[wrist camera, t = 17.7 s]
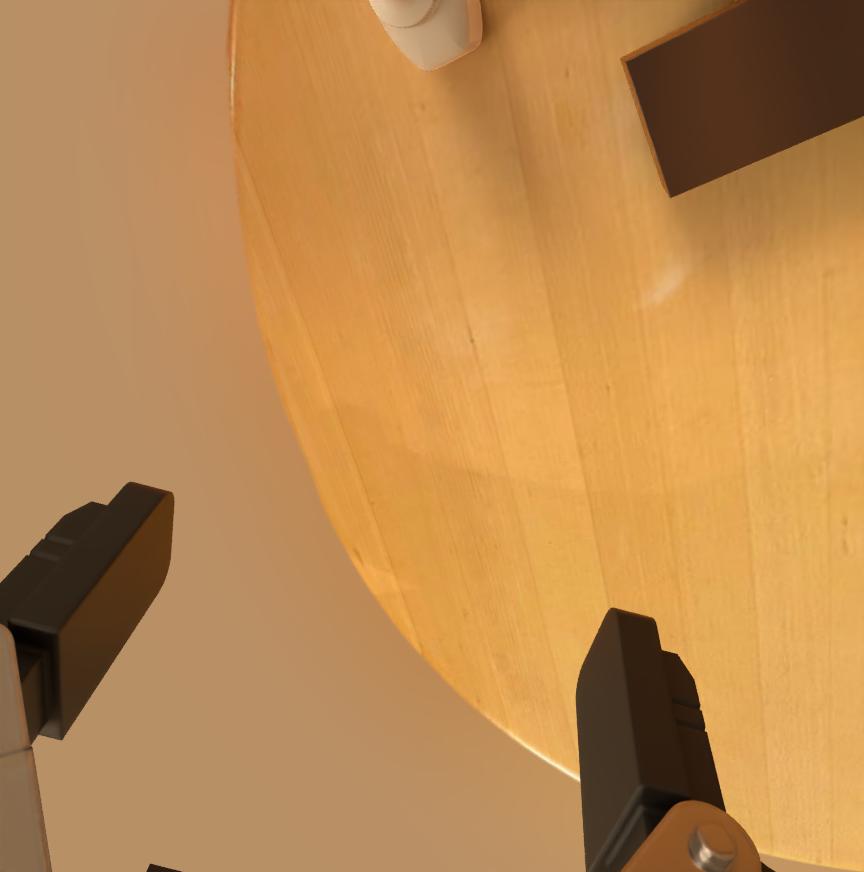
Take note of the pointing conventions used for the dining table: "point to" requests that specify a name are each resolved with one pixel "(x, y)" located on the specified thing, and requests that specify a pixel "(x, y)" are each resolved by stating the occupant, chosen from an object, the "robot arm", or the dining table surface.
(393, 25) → the eye dropper bottle
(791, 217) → the dining table surface
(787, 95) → the scrubbing brush
